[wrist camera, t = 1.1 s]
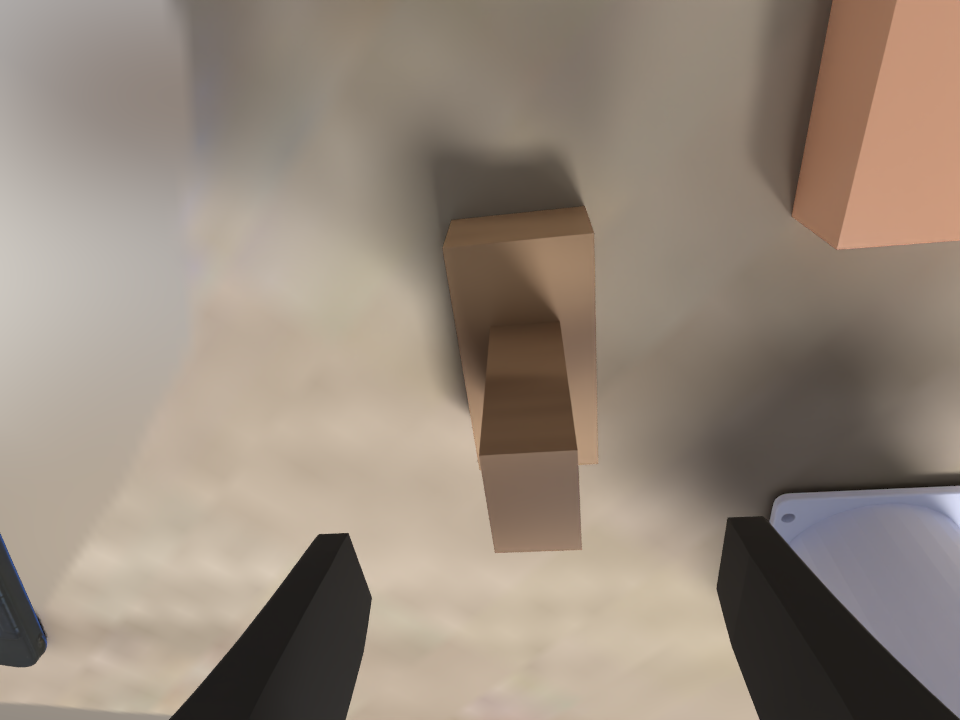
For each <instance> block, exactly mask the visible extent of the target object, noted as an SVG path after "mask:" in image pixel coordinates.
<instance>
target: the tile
mask: <svg viewBox="0 0 960 720" xmlns="http://www.w3.org/2000/svg"><path fill="white" fill-rule="evenodd" d="M792 217H793V218H795V219H796V220H797V221H799V222H800V223H801V224H803V225H804V226H805V227H807V228H808V229H809V230H811V231H812V232H813V233H815V234H816V235H817V236H819V237H820V238H822V239H823V240H824V241H826V242H827V243H828V244H830V245H831V246H832V247H834V248H835V249H836V250H840V249H853V248H867V247H880V246H893V245H906V244H919V243H932V242H945V241H958V240H960V0H833V2H832V7H831V12H830V17H829V23H828V28H827V33H826V38H825V44H824V49H823V54H822V59H821V64H820V70H819V75H818V80H817V85H816V91H815V96H814V101H813V106H812V112H811V117H810V122H809V127H808V133H807V138H806V143H805V148H804V154H803V159H802V164H801V169H800V175H799V180H798V185H797V190H796V196H795V201H794V206H793V211H792Z"/></svg>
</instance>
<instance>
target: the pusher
mask: <svg viewBox="0 0 960 720" xmlns="http://www.w3.org/2000/svg"><path fill="white" fill-rule="evenodd" d="M442 249H443V255H444V261H445V267H446V273H447V279H448V285H449V291H450V297H451V303H452V308H453V314H454V320H455V326H456V332H457V338H458V344H459V350H460V356H461V362H462V368H463V374H464V380H465V386H466V392H467V398H468V404H469V410H470V416H471V422H472V428H473V434H474V440H475V446H476V452H477V457H478V463H479V469H480V470H481V471H482V478H483V484H484V490H485V496H486V502H487V508H488V514H489V520H490V526H491V532H492V538H493V544H494V550H495V553H508V552H536V551H564V550H582V541H581V518H580V494H579V471H578V465H585V464H598V429H597V372H596V315H595V258H594V231H593V229H592V226H591V223H590V220H589V217H588V214H587V211H586V208H585V206H580V207H571V208H561V209H552V210H542V211H533V212H523V213H514V214H504V215H495V216H485V217H476V218H466V219H457V220H451V223H450V226H449V229H448V232H447V235H446V239H445V242H444V245H443V248H442Z"/></svg>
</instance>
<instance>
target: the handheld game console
mask: <svg viewBox="0 0 960 720" xmlns="http://www.w3.org/2000/svg"><path fill="white" fill-rule="evenodd" d="M46 647H47V641H46V637H45V635H44V633H43V631H42V628H41V626H40V623H39V621H38V618H37V616H36V614H35V611H34V609H33V607H32V605H31V602H30V600H29V598H28V596H27V593H26V591H25V589H24V587H23V584H22V582H21V580H20V578H19V575H18V573H17V571H16V569H15V566H14V564H13V562H12V559H11V557H10V555H9V553H8V550H7V548H6V545H5V543H4V541H3V539H2V536H1V534H0V665H5V666H13V667H28V666H32V665H34V664H35V663H36V662H37V661H38V659H39V658H40V657H41V655H42V654H44V652H45V650H46Z"/></svg>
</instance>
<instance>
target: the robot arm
mask: <svg viewBox="0 0 960 720" xmlns="http://www.w3.org/2000/svg"><path fill="white" fill-rule="evenodd" d="M785 514H787V515H785ZM717 592H718V596H719V600H720V604H721V608H722V612H723V616H724V620H725V623H726V627H727V631H728V634H729V638H730V642H731V645H732V648H733V651H734V653H735V656H736V659H737V662H738V664H739V667H740V669H741V672H742V675H743V677H744V680H745V683H746V685H747V688H748V691H749V693H750V696H751V698H752V701H753V704H754V706H755V709H756V711H757V714H758V717H759V719H760V720H960V486H942V487H920V488H898V489H875V490H853V491H831V492H808V493H788V494H783V495H781V496H779V497H778V498H776V499H775V501H774V503H773V507H772V512H771V517H770V521H768V520H767V519H765V518H764V517H763V516H757V517H733V518H728V519H727V525H726V531H725V538H724V544H723V550H722V557H721V563H720V570H719V576H718V582H717ZM371 600H372V597H371V594H370V591H369V588H368V586H367V583H366V580H365V577H364V575H363V572H362V569H361V566H360V564H359V561H358V558H357V555H356V553H355V550H354V547H353V544H352V542H351V539H350V536H349V533H339V534H319V535H318V536H317V537H316V538H315V539H314V541H313V542H312V543H311V545H310V546H309V547H308V549H307V550H306V551H305V553H304V554H303V556H302V557H301V558H300V560H299V561H298V562H297V564H296V565H295V566H294V568H293V569H292V570H291V572H290V573H289V574H288V576H287V577H286V579H285V580H284V581H283V583H282V584H281V585H280V587H279V588H278V589H277V591H276V592H275V593H274V594H273V596H272V597H271V598H270V600H269V601H268V602H267V604H266V605H265V606H264V608H263V609H262V610H261V611H260V613H259V614H258V615H257V616H256V618H255V619H254V620H253V622H252V623H251V624H250V625H249V627H248V628H247V629H246V631H245V632H244V633H243V634H242V636H241V637H240V638H239V639H238V641H237V642H236V643H235V644H234V646H233V647H232V648H231V649H230V650H229V652H228V653H227V654H226V655H225V656H224V657H223V659H222V660H221V661H220V662H219V663H218V665H217V666H216V667H215V668H214V669H213V670H212V672H211V673H210V674H209V675H208V676H207V678H206V679H205V680H204V681H203V682H202V684H201V685H200V686H199V687H198V688H197V689H196V690H195V692H194V693H193V694H192V695H191V696H190V697H189V698H188V699H187V701H186V702H185V703H184V704H183V705H182V706H181V707H180V708H179V709H178V711H177V712H176V713H175V714H174V715H173V716H172V717H171V718H170V719H169V720H346V716H347V712H348V709H349V705H350V701H351V698H352V694H353V690H354V687H355V683H356V679H357V675H358V671H359V668H360V664H361V660H362V656H363V652H364V646H365V640H366V634H367V628H368V621H369V614H370V607H371Z"/></svg>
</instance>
